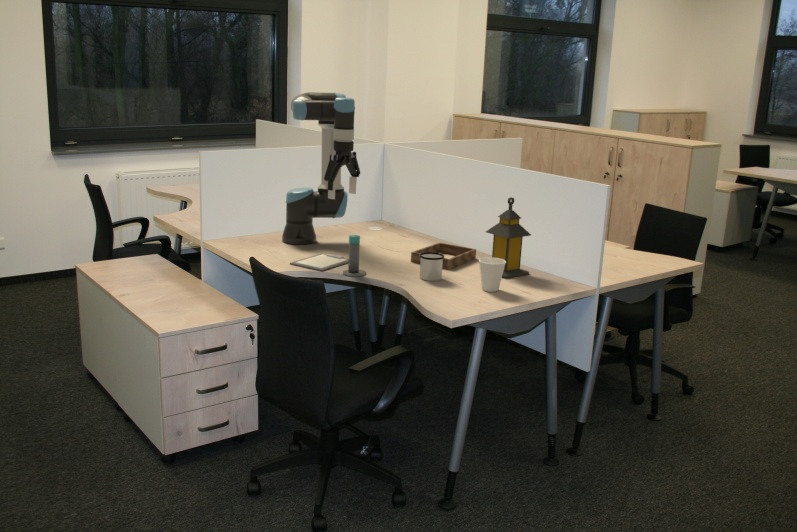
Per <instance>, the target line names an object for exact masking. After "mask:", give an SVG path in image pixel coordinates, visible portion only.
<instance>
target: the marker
mask: <svg viewBox="0 0 797 532" xmlns="http://www.w3.org/2000/svg"><path fill="white" fill-rule="evenodd" d="M360 242H361V236H360V235H358V234H350V235H349V236H348V259H349V263H348V266H347V267H348V269H347V270H348V272H349V273H359V270H360V244H361V243H360Z"/></svg>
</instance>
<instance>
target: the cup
mask: <svg viewBox="0 0 797 532" xmlns="http://www.w3.org/2000/svg"><path fill="white" fill-rule="evenodd" d="M478 262H479V271H480V286H481V290H482V291H484V292H487V293H495V292H498V291H499V289H500V286H501V281H502V279H503V278H502V274H503V271H504V267H505V263H506V261H505V260H503V259H500V258H493V257H492V256H490V257H489V256H488V257H487V256H486V257H485V256H484V257H480V258H478Z"/></svg>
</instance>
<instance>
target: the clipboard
mask: <svg viewBox="0 0 797 532" xmlns="http://www.w3.org/2000/svg"><path fill="white" fill-rule="evenodd" d="M346 264H349V258H345V257H344V256H343V255H340V254H339V255H338V254H333V253H328V254H327V253H326V254H325V253H319V254H315V255H312V256H309V257H305V258H302V259H299V260H294V261H291V262H290V263H289V265H291V266H292V265H293V266H295V267H301V268H305V269H309V270H312V271H313V270H314V271H318V272H325V271H328V270H331V269H333V268H334V269H335V268H337V267H340V266H343V265H346Z"/></svg>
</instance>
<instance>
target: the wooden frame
mask: <svg viewBox="0 0 797 532" xmlns="http://www.w3.org/2000/svg"><path fill="white" fill-rule="evenodd" d="M424 252H435V253H440V254H447V255H452V256H453V257H451V258H447V257H446V258H445V257H444V259H443V263H442V269H444V270H451V269H454V268H457V267H459V266H461V265H463V264H466V263H468V262H470V261H473V260H475V259H476V258H477V257H476V256H477V249H476V248H471V247H465V246H460V245H456V244H449V243H444V242H437V243H433V244H432V245H429V246H425V247H422V248H420V249H416V250H414V251H411V253H410V262H411V263H416V264H420V263H421V258H420V256H419V255H420V254H421V253H424Z"/></svg>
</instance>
